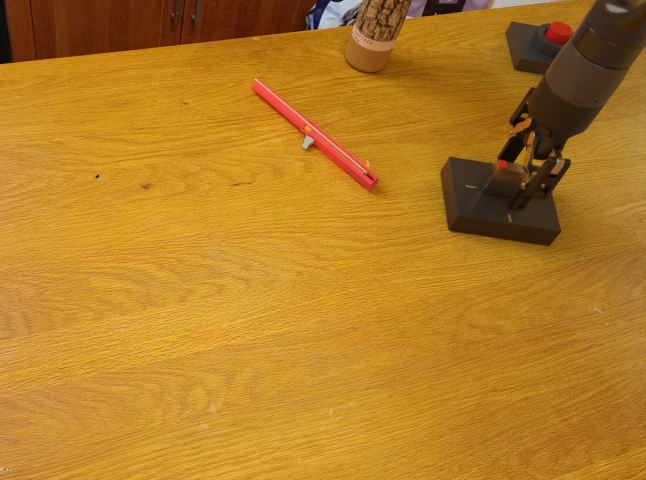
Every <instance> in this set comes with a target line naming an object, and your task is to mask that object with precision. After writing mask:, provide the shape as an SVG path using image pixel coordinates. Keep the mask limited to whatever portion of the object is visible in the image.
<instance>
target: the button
mask: <svg viewBox="0 0 646 480" xmlns="http://www.w3.org/2000/svg"><path fill="white" fill-rule="evenodd" d="M573 32H574V30H573V28H572V27H571V26H570V25H569V24H567V23H565V22H562V21H552V23H551V25H550V27H549V29H548V30H547V32H546V37H547V38H548V39H549V40H551V41H553V42H555V43H558V44H566V43H567V41H568V40H569V38H570V37H571V35H572V33H573Z"/></svg>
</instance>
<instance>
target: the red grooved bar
mask: <svg viewBox="0 0 646 480" xmlns="http://www.w3.org/2000/svg"><path fill="white" fill-rule="evenodd" d="M253 81H255V82H254V83H253V85H252V90H253V91H254V92H255V93H257V95H259V96H260V97H261V98H262V99H263V100H264V101H265V102H267V103H268V104H269V105H271V106H272V107H273V108H274V109H275V110H277V111H278V113H280V114H281V115H283V116H284V117H285V118H286V119H287V120H288V121H290V122H291V123H292V124H293V125H294V126H295V127H296V128H298V129H299V130H300V132H302V133H303V134H304V135H305V137H304V139H303V143H302V145H301V149H302V150H304V151H308V148H309V147H310V146H311V145H313V146H314V147H316V148H317V149H318V150H319V151H320V152H321V153H323V154H324V155H325V156H326V157H327V158H329V159H330V160H331V161H332V162H333V163H335V164H336V165H337V166H338V167H340V168H341V170H343V171H344V172H345V173H346V174H348V175H349V176H350V177H351V178H352V179H354V181H356V182H357V183H358V184H359V185H361V186H362V187H363V188H364V189H366V190H367V192H371V191H372V190H373V188H375V187H376V186H377V184H378V182H379V177H380V176H379V175H377V174H376V173H375V172H374V171H372V170H371V169H370V165H371V163H370V161H369V160H368V159H365V164H364V163H363V162H362V161H361V160H359V159H358V158H357V157H356V156H354V154H352V153H351V152H350V151H349V150H347V148H345V147H344V146H343V145H341V144H340V143H339V142H338V141H337V140H336V139H334V138H333V137H331V135H329V134H328V133H326V131H324V130H323V129H322V128H321V127H320V126H319V125H318V124H316V123H315V122H314V120H311V119H308V118H306V117H305V116H304V115H303V114H302V113H300V112H299V111H298V110H297V109H295V107H293V106H292V105H291V104H290V103H288V102H287V101H286V100H285V99H283V98H282V96H280V95H279V94H278V93H276V92H275V90H273V89H272V88H270V87H269V86H268V85H267V84H266V83H264V82H263V81H262V80H261V79H257V78H256V77H255V78H254V80H253Z"/></svg>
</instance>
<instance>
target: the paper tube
mask: <svg viewBox="0 0 646 480" xmlns="http://www.w3.org/2000/svg"><path fill="white" fill-rule="evenodd" d="M413 1H414V0H362V1H361V4H360V7H359V8H358V9H359V10H358V12H357V15H356V18H355V21H354V24H353V27H352V30H351V32H350V36H349V39H348V42H347V44H346V46H345V50H344V56H345V61H347V63H348V64H349V65H350V66H351V67H353V68H354V69H356V70H358V71H360V72H364V73H376V72H380V71H381V70H383V69H385V67H386V66H387V64H388V61H389V59H390V57H391V54H392V52H393V50H394V47H395V45H396V43H397V40H398V38H399V35H400V34H401V30H402V29H403V25H404V24H405V20H406V19H407V16H408V13H409V11H410V9H411V6H412V5H413Z"/></svg>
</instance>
